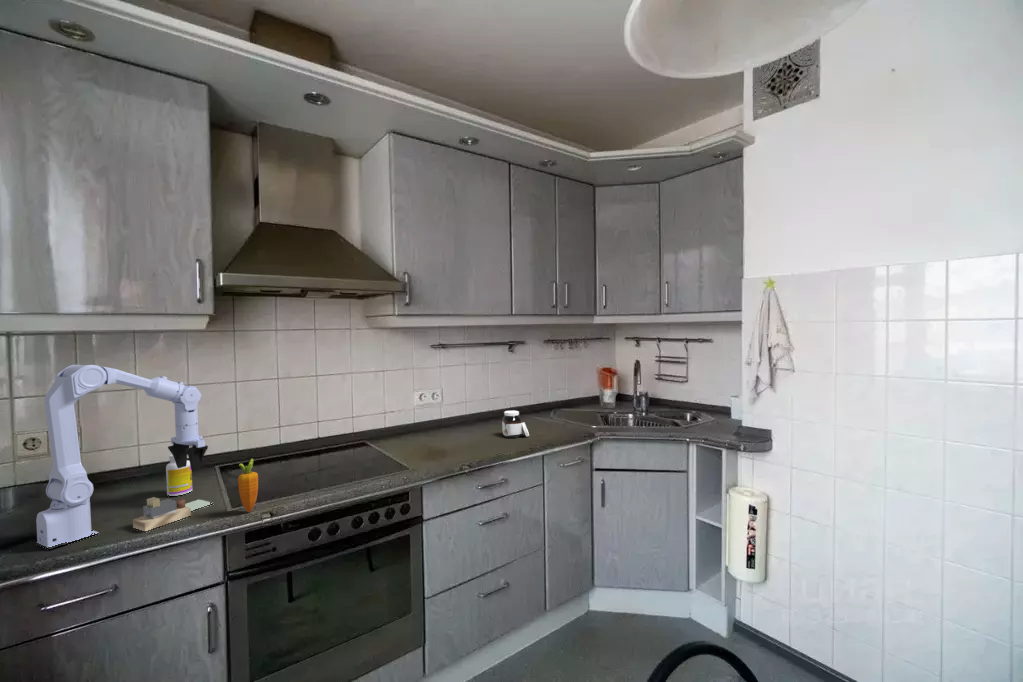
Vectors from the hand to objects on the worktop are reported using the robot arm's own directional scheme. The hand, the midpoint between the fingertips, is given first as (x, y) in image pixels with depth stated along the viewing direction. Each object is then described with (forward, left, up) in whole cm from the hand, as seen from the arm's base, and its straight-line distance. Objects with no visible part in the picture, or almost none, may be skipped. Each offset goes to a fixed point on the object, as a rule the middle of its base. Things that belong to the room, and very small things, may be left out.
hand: (188, 468), depth 140 cm
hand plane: (-13, -11, -10) cm, 19 cm away
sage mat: (-3, -6, -10) cm, 12 cm away
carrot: (+1, -27, -10) cm, 29 cm away
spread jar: (+110, -58, -10) cm, 125 cm away
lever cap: (-13, -11, -7) cm, 18 cm away
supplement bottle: (+2, +10, -10) cm, 15 cm away
